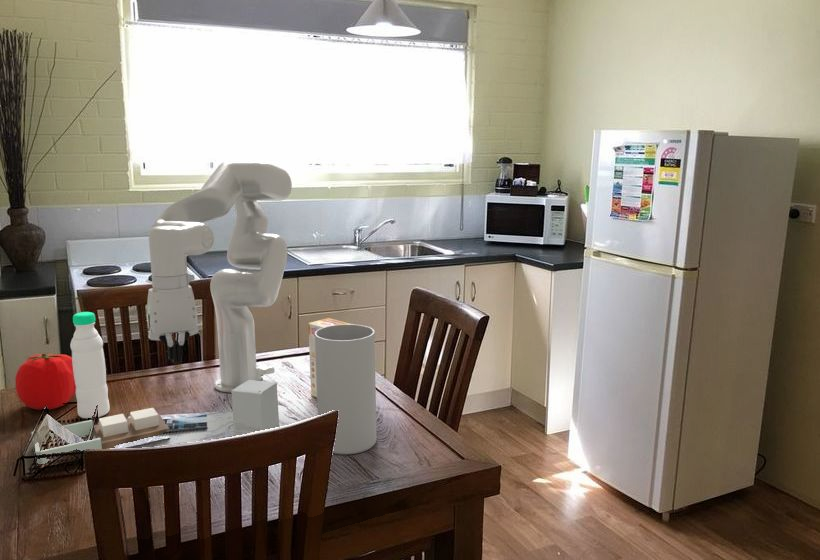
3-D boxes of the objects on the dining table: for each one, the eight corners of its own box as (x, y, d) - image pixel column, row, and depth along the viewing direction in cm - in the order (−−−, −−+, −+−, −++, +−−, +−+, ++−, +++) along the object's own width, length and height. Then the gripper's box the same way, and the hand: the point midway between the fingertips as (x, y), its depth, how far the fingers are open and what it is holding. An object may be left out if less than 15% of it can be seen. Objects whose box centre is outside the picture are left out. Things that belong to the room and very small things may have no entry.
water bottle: (98, 420, 165) (87, 318, 159) (71, 418, 166) (59, 316, 161) (116, 409, 171) (106, 310, 166) (90, 407, 173) (80, 309, 168)
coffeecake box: (370, 402, 174) (368, 327, 170) (349, 411, 169) (347, 333, 165) (331, 388, 184) (328, 317, 180) (309, 395, 179) (307, 322, 175)
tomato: (37, 421, 164) (30, 366, 162) (5, 409, 172) (-2, 356, 169) (97, 400, 177) (91, 348, 175) (65, 390, 185) (59, 340, 182)
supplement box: (281, 435, 156) (278, 382, 153) (263, 449, 149) (260, 393, 146) (252, 431, 158) (249, 378, 155) (233, 445, 151) (230, 389, 148)
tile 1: (123, 424, 157) (122, 413, 156) (128, 431, 152) (127, 421, 152) (99, 429, 154) (98, 418, 153) (103, 437, 150) (102, 426, 149)
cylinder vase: (341, 426, 160) (338, 321, 155) (387, 438, 154) (385, 329, 149) (307, 447, 149) (302, 335, 144) (355, 461, 143) (352, 344, 138)
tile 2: (154, 417, 160) (153, 407, 159) (159, 425, 156) (158, 414, 155) (131, 422, 157) (129, 412, 157) (135, 430, 153) (134, 419, 153)
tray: (93, 434, 157) (92, 419, 156) (102, 454, 147) (100, 438, 146) (33, 447, 151) (31, 431, 150) (38, 469, 141) (36, 452, 140)
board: (158, 421, 164) (157, 412, 163) (170, 438, 155) (169, 428, 154) (93, 435, 156) (92, 425, 156) (102, 454, 147) (101, 443, 147)
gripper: (199, 276, 161) (204, 352, 165) (131, 282, 153) (137, 363, 157) (209, 281, 155) (213, 360, 158) (138, 288, 147) (144, 372, 151)
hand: (175, 361), depth 158 cm, fingers closed
